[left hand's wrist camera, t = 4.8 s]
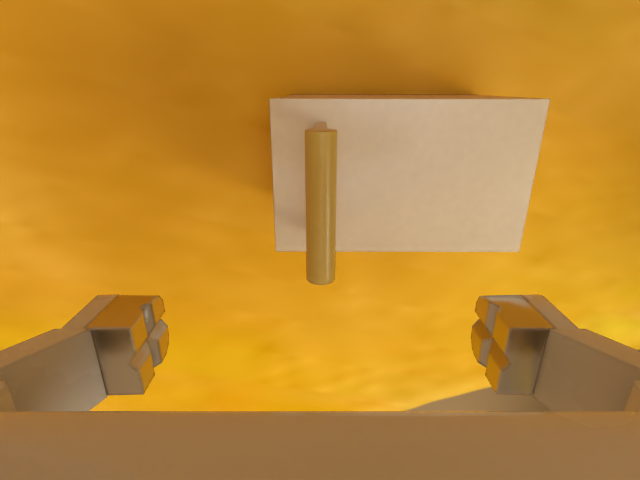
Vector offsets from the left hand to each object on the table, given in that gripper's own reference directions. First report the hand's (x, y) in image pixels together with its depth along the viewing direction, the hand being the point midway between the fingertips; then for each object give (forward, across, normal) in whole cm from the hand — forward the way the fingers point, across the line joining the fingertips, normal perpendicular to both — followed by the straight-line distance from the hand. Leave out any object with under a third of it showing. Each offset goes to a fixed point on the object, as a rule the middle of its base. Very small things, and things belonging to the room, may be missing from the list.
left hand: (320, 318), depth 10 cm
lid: (+17, -5, 0) cm, 18 cm away
